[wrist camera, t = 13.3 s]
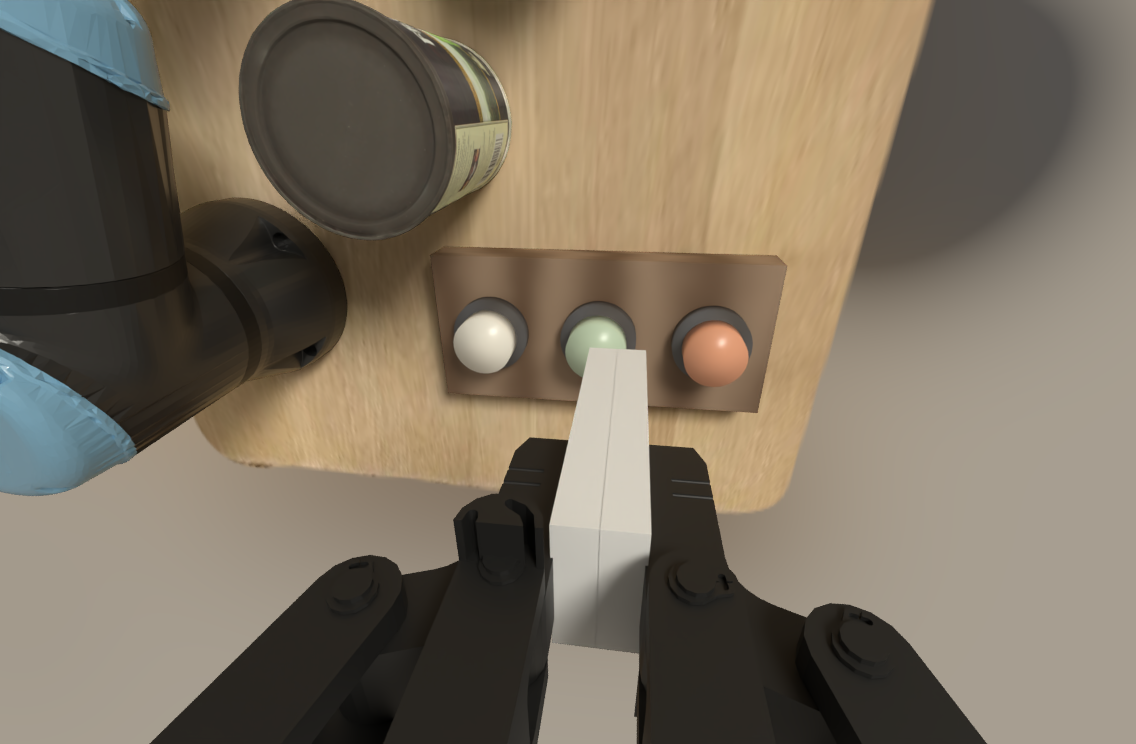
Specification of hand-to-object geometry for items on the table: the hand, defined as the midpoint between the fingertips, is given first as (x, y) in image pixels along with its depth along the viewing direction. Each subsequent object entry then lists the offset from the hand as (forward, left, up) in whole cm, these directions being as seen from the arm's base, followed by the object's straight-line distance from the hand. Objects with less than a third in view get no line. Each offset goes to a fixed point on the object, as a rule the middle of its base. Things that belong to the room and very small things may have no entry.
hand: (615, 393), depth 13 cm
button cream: (-10, -8, -22) cm, 26 cm away
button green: (-2, -8, -22) cm, 24 cm away
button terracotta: (+6, -8, -22) cm, 24 cm away
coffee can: (-14, +7, -26) cm, 31 cm away
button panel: (-2, -8, -26) cm, 28 cm away
